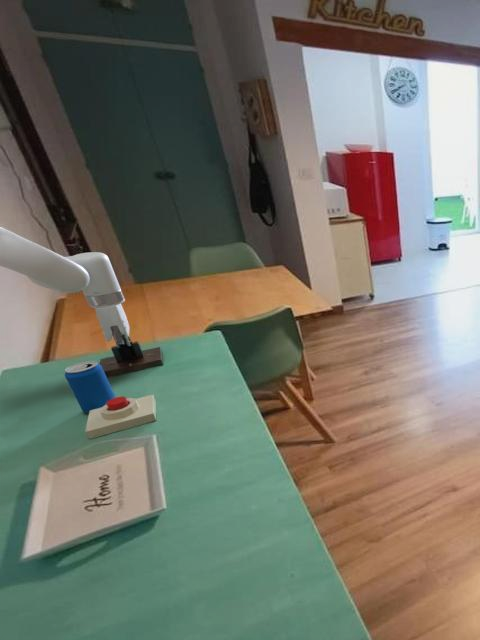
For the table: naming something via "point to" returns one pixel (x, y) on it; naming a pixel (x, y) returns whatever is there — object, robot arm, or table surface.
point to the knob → (137, 350)
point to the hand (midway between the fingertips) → (129, 356)
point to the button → (117, 403)
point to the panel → (132, 363)
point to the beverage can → (89, 385)
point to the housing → (121, 417)
